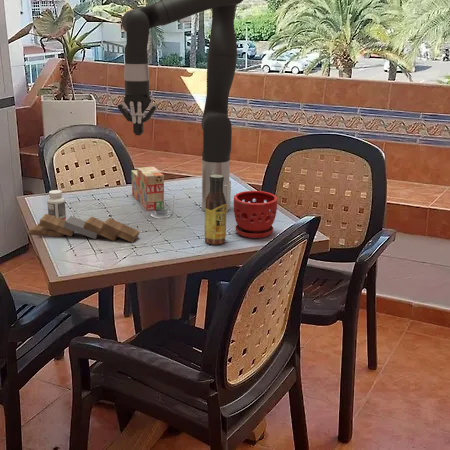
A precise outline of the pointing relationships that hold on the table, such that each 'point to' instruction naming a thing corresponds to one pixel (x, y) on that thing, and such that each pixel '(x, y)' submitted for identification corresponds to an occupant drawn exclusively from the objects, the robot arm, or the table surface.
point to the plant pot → (255, 213)
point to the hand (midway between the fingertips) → (138, 135)
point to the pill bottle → (56, 204)
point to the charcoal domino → (79, 227)
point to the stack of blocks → (148, 187)
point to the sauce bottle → (215, 212)
